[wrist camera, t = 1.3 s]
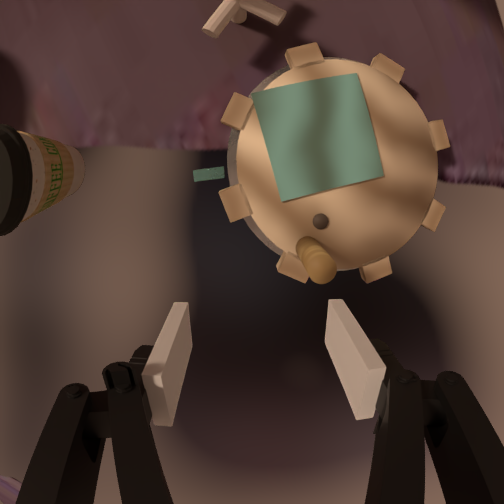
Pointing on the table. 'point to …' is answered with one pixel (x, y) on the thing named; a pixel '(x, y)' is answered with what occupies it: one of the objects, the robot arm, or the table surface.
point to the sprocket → (335, 165)
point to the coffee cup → (34, 175)
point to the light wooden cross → (241, 14)
